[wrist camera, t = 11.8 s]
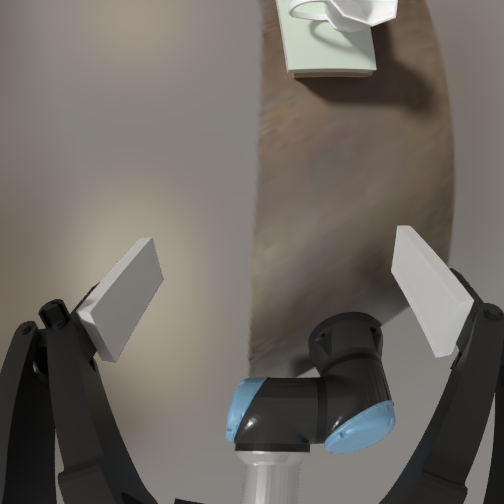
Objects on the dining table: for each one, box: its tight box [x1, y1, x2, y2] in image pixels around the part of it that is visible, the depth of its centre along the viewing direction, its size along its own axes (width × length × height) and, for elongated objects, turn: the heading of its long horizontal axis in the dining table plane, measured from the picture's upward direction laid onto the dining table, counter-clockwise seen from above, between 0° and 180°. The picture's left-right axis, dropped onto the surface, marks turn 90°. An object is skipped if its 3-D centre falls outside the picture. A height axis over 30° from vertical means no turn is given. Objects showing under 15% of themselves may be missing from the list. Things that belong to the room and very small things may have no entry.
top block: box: [276, 0, 377, 74], centre depth 24 cm, size 13×10×4 cm
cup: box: [287, 0, 398, 33], centre depth 18 cm, size 7×10×8 cm
